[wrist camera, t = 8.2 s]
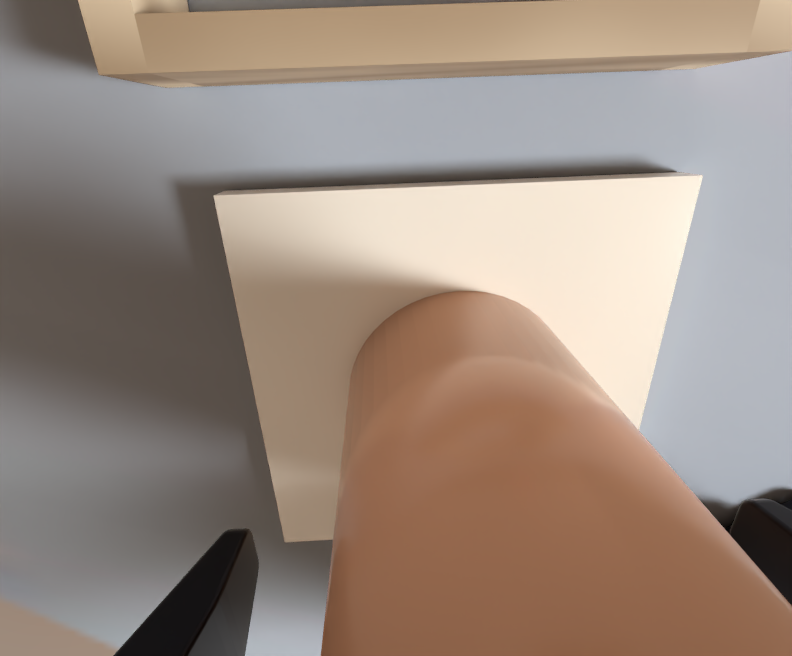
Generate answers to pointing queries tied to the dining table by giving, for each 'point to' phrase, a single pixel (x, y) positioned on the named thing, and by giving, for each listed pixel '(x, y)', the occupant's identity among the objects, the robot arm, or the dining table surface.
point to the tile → (438, 291)
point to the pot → (520, 508)
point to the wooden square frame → (425, 39)
